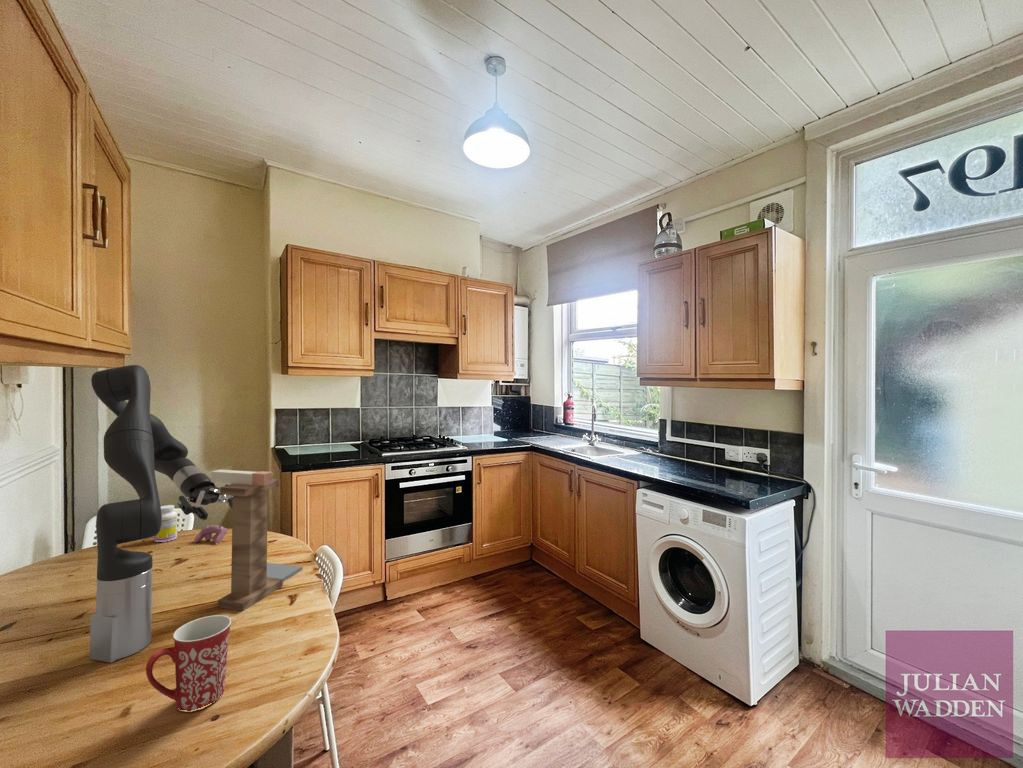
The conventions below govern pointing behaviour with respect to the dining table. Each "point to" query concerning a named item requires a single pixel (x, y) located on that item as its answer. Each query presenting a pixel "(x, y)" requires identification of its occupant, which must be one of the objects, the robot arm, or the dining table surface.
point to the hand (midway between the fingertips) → (222, 512)
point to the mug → (196, 662)
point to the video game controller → (208, 532)
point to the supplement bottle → (167, 524)
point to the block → (242, 477)
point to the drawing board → (282, 571)
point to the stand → (249, 546)
